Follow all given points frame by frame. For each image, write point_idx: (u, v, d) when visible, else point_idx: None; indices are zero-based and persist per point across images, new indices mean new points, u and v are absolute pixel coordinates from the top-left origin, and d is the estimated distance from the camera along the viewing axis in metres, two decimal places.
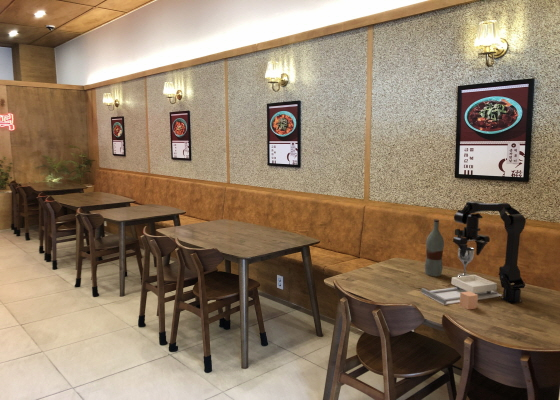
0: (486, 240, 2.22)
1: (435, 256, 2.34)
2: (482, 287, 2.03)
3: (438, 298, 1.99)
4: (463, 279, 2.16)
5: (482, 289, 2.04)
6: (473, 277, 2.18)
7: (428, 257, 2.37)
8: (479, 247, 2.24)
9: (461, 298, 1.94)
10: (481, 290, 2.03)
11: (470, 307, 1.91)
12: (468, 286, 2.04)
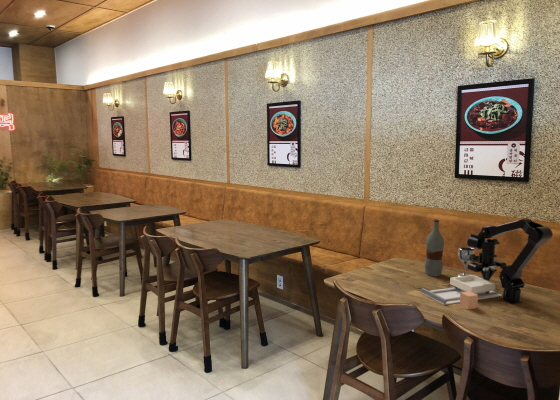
0: (503, 267, 2.11)
1: (435, 256, 2.34)
2: (480, 287, 2.03)
3: (438, 298, 1.99)
4: (462, 279, 2.15)
5: (480, 289, 2.03)
6: (472, 277, 2.17)
7: (428, 257, 2.37)
8: None
9: (461, 298, 1.94)
10: (479, 291, 2.03)
11: (470, 307, 1.91)
12: (466, 286, 2.04)
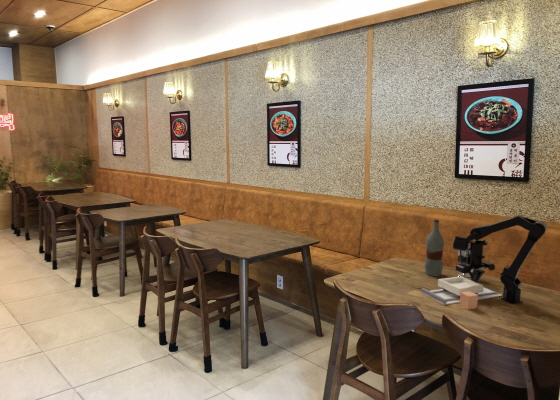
0: (491, 268, 2.09)
1: (435, 256, 2.34)
2: (468, 289, 2.01)
3: (438, 298, 1.99)
4: (450, 281, 2.13)
5: None
6: (460, 279, 2.15)
7: (428, 257, 2.37)
8: None
9: (461, 298, 1.94)
10: None
11: (470, 307, 1.91)
12: (454, 288, 2.01)
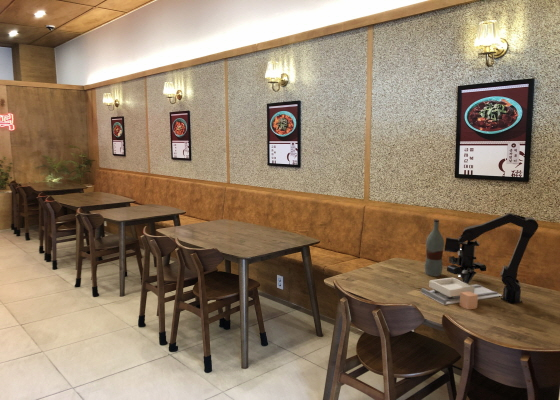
0: (482, 269, 2.07)
1: (435, 256, 2.34)
2: (459, 290, 1.99)
3: (438, 298, 1.99)
4: (441, 282, 2.11)
5: (459, 292, 1.99)
6: (451, 280, 2.13)
7: (428, 257, 2.37)
8: None
9: (461, 298, 1.94)
10: (458, 294, 1.99)
11: (470, 307, 1.91)
12: (445, 289, 2.00)
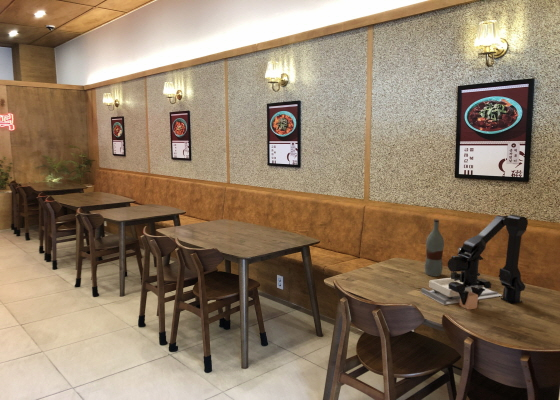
0: (487, 286, 1.92)
1: (435, 256, 2.34)
2: None
3: (438, 298, 1.99)
4: (441, 282, 2.11)
5: None
6: (451, 280, 2.13)
7: (428, 257, 2.37)
8: None
9: None
10: (458, 294, 1.99)
11: (470, 307, 1.91)
12: (445, 289, 2.00)
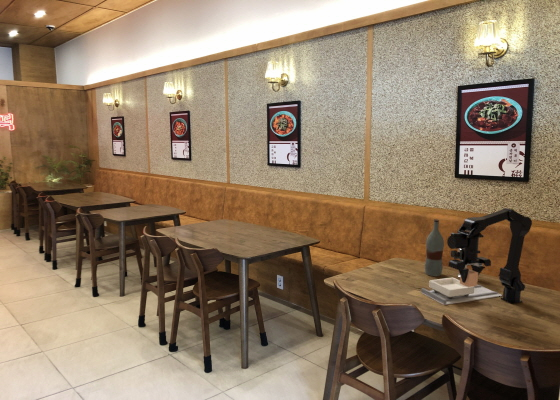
0: (487, 264, 1.92)
1: (435, 256, 2.34)
2: (459, 290, 1.99)
3: (438, 298, 1.99)
4: (441, 282, 2.11)
5: (459, 292, 1.99)
6: (451, 280, 2.13)
7: (428, 257, 2.37)
8: None
9: None
10: (458, 294, 1.99)
11: (470, 285, 1.91)
12: (445, 289, 2.00)
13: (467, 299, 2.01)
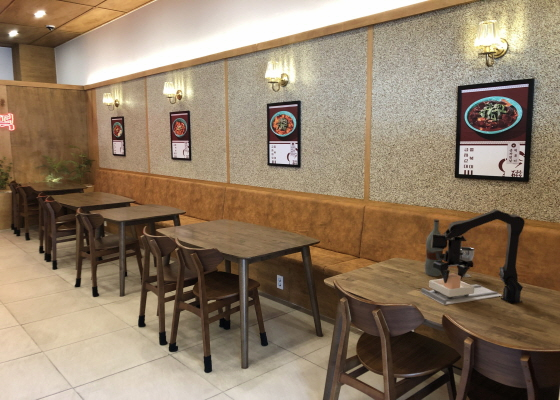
0: (469, 265, 2.04)
1: (435, 256, 2.34)
2: (459, 290, 1.99)
3: (438, 298, 1.99)
4: (441, 282, 2.11)
5: (459, 292, 1.99)
6: None
7: (428, 257, 2.37)
8: (461, 272, 2.06)
9: None
10: (458, 294, 1.99)
11: (453, 287, 2.03)
12: (445, 289, 2.00)
13: (467, 299, 2.01)
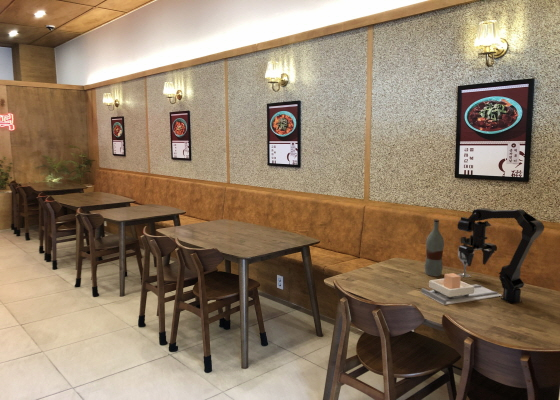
0: (493, 249, 2.13)
1: (435, 256, 2.34)
2: (459, 290, 1.99)
3: (438, 298, 1.99)
4: (441, 282, 2.11)
5: (459, 292, 1.99)
6: None
7: (428, 257, 2.37)
8: (486, 256, 2.15)
9: (445, 279, 2.06)
10: (458, 294, 1.99)
11: (453, 287, 2.03)
12: (445, 289, 2.00)
13: (467, 299, 2.01)
